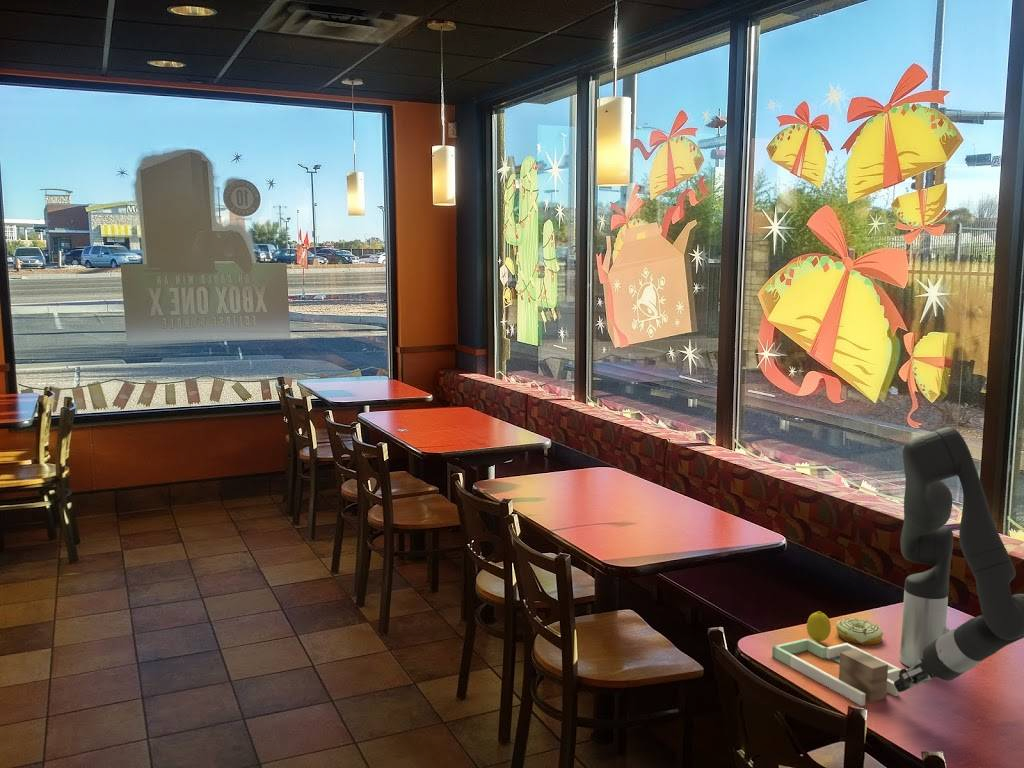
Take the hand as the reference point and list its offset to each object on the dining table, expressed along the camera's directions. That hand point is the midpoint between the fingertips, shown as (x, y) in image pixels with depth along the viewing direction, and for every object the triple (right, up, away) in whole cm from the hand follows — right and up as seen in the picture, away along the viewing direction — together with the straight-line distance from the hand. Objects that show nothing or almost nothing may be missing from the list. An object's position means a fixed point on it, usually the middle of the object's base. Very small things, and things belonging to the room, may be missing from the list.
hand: (898, 687), depth 187 cm
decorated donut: (+6, -1, +37) cm, 38 cm away
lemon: (-5, -1, +34) cm, 35 cm away
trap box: (-4, -3, +15) cm, 16 cm away
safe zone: (-12, -2, +25) cm, 28 cm away
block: (-4, -4, +9) cm, 11 cm away
